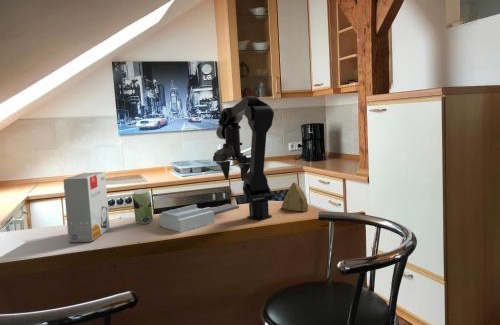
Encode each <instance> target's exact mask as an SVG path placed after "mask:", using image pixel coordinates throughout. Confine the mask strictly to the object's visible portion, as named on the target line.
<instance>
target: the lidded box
mask: <svg viewBox="0 0 500 325" xmlns="http://www.w3.org/2000/svg"><path fill="white" fill-rule="evenodd" d="M211 208H212V207H209V206H207V207H204V208H199V207H198V205H197V204H196V203H195V204H190V205H186V206H183V207H178V208H175V209H170V210H165V211H161V214H159V223H160V224H159V226H162V227H161V228H164V227H166V228H165V229H167V228H170V229H169V230H171V229H173V230H172V231H174V230H176V231H175V232H178V231H179V232H178V233H183V231H184V232H187V231H186V230H188V231H190V230H189V229H191V230H194V229H193V228H195V229H198V228H201V226H202V227H205V226H208V225H207V224H209V225H211V223H212V224H215V215H214V211H211ZM204 225H205V226H204ZM197 227H198V228H197Z"/></svg>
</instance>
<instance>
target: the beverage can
mask: <svg viewBox="0 0 500 325" xmlns="http://www.w3.org/2000/svg"><path fill="white" fill-rule="evenodd" d="M132 202H133V203H132V204H133V210H134V212H133V213H134V221H135V222H136V223H138V224H139V225H146V224H149V223H151V221H153V220H154V217H153V208H152V207H153V206H152V199H151V193H150V192H149V190H148V189H146V188H140V189H136V190H134V191H133V193H132Z"/></svg>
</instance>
